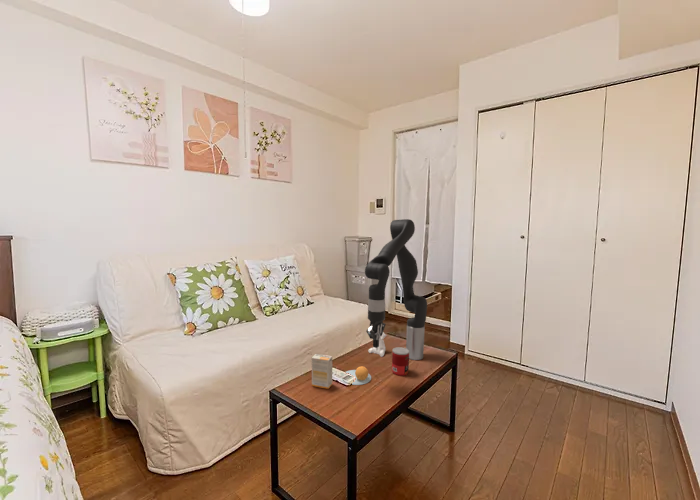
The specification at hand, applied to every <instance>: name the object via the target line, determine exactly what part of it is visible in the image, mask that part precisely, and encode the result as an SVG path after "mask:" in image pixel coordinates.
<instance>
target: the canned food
mask: <svg viewBox="0 0 700 500" xmlns="http://www.w3.org/2000/svg"><path fill="white" fill-rule="evenodd" d="M391 353H392V354H391V372H392V374H394V375H396V376H399V377H402V376H403V377H404V376H405V377H406V376H407V375H408V374H409V366H410V365H409V364H410V362H409V361H410V359H409V350H408V349H406V347H401V346H400V347H397V346H396V347H394V348H392V352H391Z"/></svg>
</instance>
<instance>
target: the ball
mask: <svg viewBox="0 0 700 500" xmlns="http://www.w3.org/2000/svg"><path fill="white" fill-rule="evenodd" d="M355 370H356V371H355V375H356V377H357V379H359V380H365V379H366V378H367V377H368V373H369V370H368V368H366V367H365V366H364V365H363V366H358V367H357V368H356V369H355Z"/></svg>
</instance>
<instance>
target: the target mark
mask: <svg viewBox="0 0 700 500" xmlns="http://www.w3.org/2000/svg"><path fill="white" fill-rule="evenodd" d="M355 371H356V369H349V370H346V371H345V372H346V373H349V374H351V375H353V376H355V378H356V380H355V382H353V383H352V385H354V386H362V385H366V384H368V383H369V382H371V380H372V375H371V374H370V373H369V372H368V377H367V378H366V379H365V380H359V379H357V377H356V375H355Z"/></svg>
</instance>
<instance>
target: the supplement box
mask: <svg viewBox="0 0 700 500" xmlns="http://www.w3.org/2000/svg"><path fill="white" fill-rule="evenodd" d="M332 386H333V356H332V355H326V354H319V353H315V354H314V355H313V356H312V357H311V387H316V388H322V389H326V390H329V389H330V387H332Z"/></svg>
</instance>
